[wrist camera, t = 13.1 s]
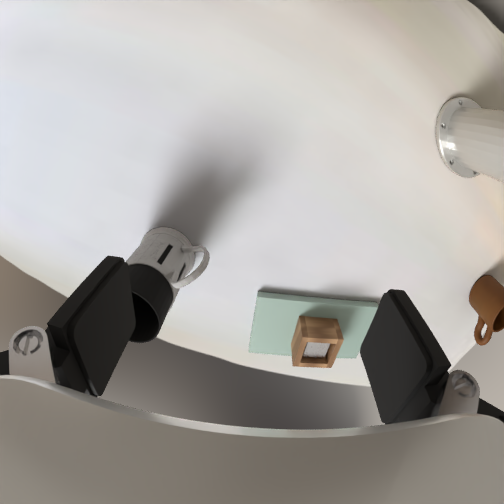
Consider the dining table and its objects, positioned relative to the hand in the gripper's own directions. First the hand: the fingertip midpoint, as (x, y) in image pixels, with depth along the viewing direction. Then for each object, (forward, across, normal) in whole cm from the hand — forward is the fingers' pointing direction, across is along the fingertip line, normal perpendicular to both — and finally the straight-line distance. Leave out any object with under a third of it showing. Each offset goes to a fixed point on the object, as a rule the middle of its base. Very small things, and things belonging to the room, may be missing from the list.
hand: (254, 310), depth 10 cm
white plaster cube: (+27, -12, +24) cm, 38 cm away
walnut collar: (+27, -12, +24) cm, 38 cm away
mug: (+28, -47, +16) cm, 57 cm away
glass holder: (+28, +10, +12) cm, 32 cm away
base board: (+28, -12, +24) cm, 39 cm away
